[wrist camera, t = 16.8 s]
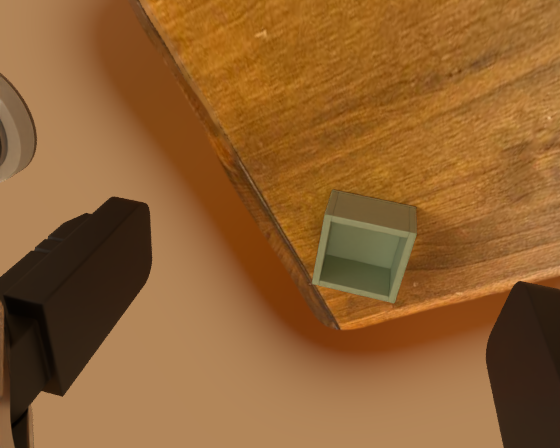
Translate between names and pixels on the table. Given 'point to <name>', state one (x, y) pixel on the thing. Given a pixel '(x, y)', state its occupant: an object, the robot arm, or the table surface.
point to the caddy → (365, 245)
